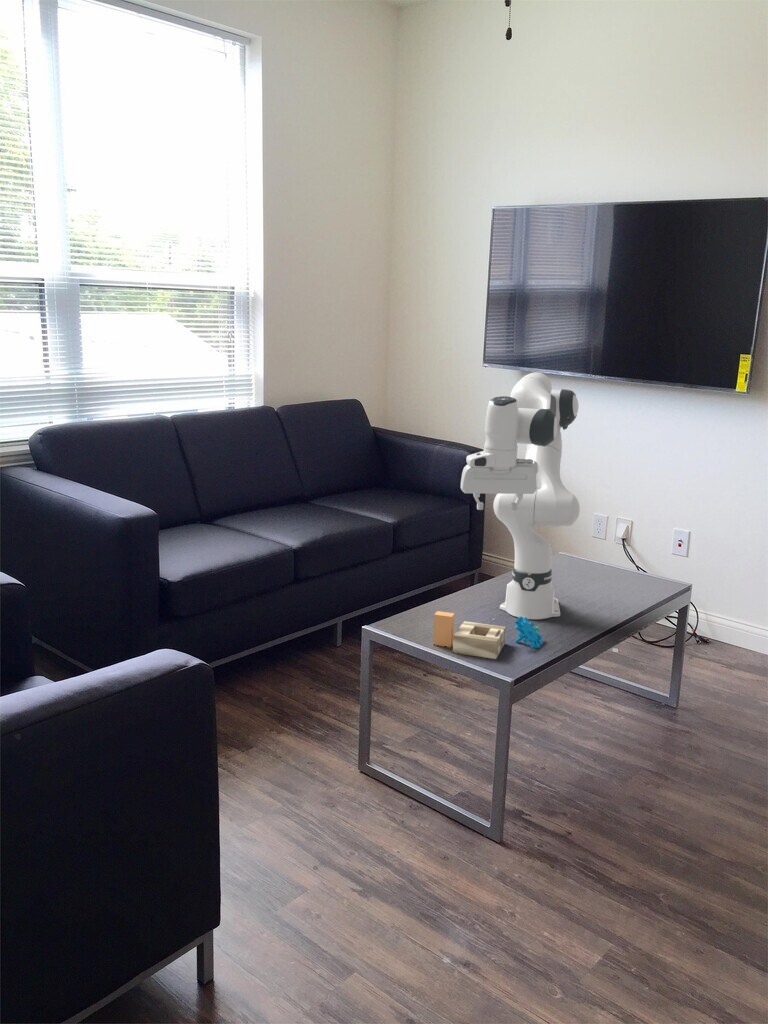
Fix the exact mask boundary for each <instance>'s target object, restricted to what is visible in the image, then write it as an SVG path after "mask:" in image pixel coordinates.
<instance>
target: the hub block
mask: <svg viewBox="0 0 768 1024" xmlns="http://www.w3.org/2000/svg"><path fill="white" fill-rule="evenodd" d="M506 628H507V627H506V626H502V625H496V624H495V625H494V624H487V623H480V622H473V621H465V620H464V621H463V622H462V623H461V625H460V626H459V627H458V629H457V630H455V632H454V635H453V645H452V653H453V652H454V654H458V653H459V654H461V655H466V656H473V657H481V658H488V659H494V660H496V659H497V658H498V656H499V655H500V653H501V652H502V650H503V648H504V647H505V644H506Z"/></svg>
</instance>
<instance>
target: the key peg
mask: <svg viewBox="0 0 768 1024" xmlns="http://www.w3.org/2000/svg"><path fill="white" fill-rule="evenodd" d="M433 617H434V618H433V642H432V643H433V644H435V645H434V646H437V645H439V646H438V647H444V646H447V647H446V648H452V647H453V635H454V634H455V612H454V613H453V612H447V611H438V610H437V611H436V612H435V613H434V616H433Z"/></svg>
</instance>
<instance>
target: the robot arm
mask: <svg viewBox="0 0 768 1024" xmlns="http://www.w3.org/2000/svg"><path fill="white" fill-rule="evenodd" d="M552 388H553V387H552V382H551V379H550V378H549V377H548V376H547V375H546V374H544V373H541V372H538V371H535V372H530V373H528V374H526V375H524V376H523V377H521V378H520V379H519V380H518V381H517V382H516V383H515V385H514V386H513V388H512V390H511V392H510V396H505V395H504V396H496V397H493V398H491V399H490V400H489V401H488V404H487V408H486V414H485V423H484V425H485V426H484V433H485V441H484V446H483V450H482V451H478V452H475V453H471V454H469V455H467V456H466V458H465V459H466V465H465V466H464V467H463V469H462V472H461V479H460V490H461V491H462V492H463V493H464V494H472V495H473V498H474V500H475V502H476V509H477V510H478V511H482V510H484V502H483V501H480V499H479V498H480V497H481V494H496V495H495V497H494V500H493V505H492V506H493V512H494V514H495V516H496V518H497V519H498V520H499V521H500V522H501V523H502V524H504V525H505V527H506V528H507V529H508V531H509V532H510V535H511V537H512V539H513V545H514V547H513V548H514V566H513V567H512V571H511V578H512V580H511V581H510V582H508V583H507V584H506V589H505V590H506V591H505V593H506V594H505V601H504V602H502V603H501V604H499V610H502V611H504V612H506V613H507V614H509V615H511V616H513V617H517V618H519V617H523V618H525V617H526V618H528V620H545V619H549V618H557V617H561V610H560V603H559V599H558V598H556V597H555V593H556V592H555V591H556V590H555V589H554V586H553V583H552V579H553V571H552V569H551V566H552V551H553V550H552V549H553V548H552V545H551V543H550V541H549V540H547V539H546V538H544V537H543V536H542V535H540V534H538V533H537V532H536V531H535V528H533V527H534V526H540V527H548V528H549V527H552V528H560V527H561V528H562V527H569V526H572V525H574V524H575V522H576V521H577V520H578V518H579V515H580V510H581V509H580V508H581V507H580V502H579V500H578V498H577V497H576V495H575V494H573V493H572V492H570V491H569V490H568V489H567V488H566V486H564V484H563V481H562V479H561V461H562V453H563V451H562V450H563V448H562V447H563V440H562V433H561V429H562V430H564V431H565V430H566V429H568V427H569V426H570V425H571V424H572V423H573V422H575V420H576V418H577V415H578V412H579V400H578V398H577V395H576V393H575V392H574V391H573V390H572V389H571V390H570V389H563V388H562V389H552ZM518 444H523V445H526V451H525V457H524V458H518Z"/></svg>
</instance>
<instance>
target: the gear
mask: <svg viewBox="0 0 768 1024" xmlns="http://www.w3.org/2000/svg"><path fill="white" fill-rule="evenodd" d="M514 623H515V624H516V625H515V627H514V629H515V630H517V631H519V632H518V633H517V635H518V637H517V638H516V639H515V643H517V644H518V643H520V642H521V641H523V643H524V644H525V645H527V644H528V643H529V642H530V643H529V645H528V646H529V648H531V649H533V648H535V649H539V648H540V647H541V645H543V644H544V642H543V641H542V639H543V635H542V634H539V632H540V630H541V627H540V626H539V625H537V626H536V627H533V626H535V623H534V622H533V621H532V620H531V621H530V622H529V619H528V618H526V617H525V618H523V617H517V619H516V620H515V621H514Z"/></svg>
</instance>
